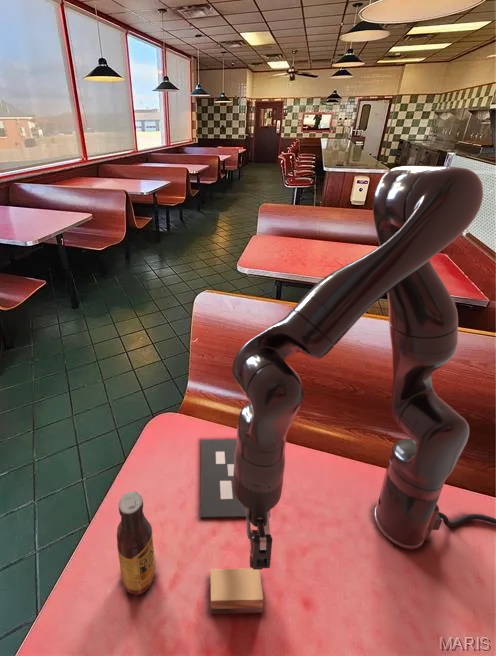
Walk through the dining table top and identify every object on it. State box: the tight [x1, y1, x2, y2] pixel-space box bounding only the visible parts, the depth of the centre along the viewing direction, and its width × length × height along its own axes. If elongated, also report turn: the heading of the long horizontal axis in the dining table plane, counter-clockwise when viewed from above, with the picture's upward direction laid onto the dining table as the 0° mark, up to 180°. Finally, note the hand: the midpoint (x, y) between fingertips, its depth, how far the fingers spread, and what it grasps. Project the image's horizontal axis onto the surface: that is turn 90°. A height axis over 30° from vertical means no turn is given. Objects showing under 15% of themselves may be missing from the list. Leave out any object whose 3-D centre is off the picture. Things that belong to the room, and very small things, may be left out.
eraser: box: [209, 568, 264, 615], centre depth 59 cm, size 9×4×4 cm, turn 91°
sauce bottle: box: [116, 490, 156, 596], centre depth 59 cm, size 6×6×20 cm
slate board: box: [200, 439, 246, 519], centre depth 81 cm, size 13×20×1 cm, turn 1°
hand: (252, 535), depth 56 cm, fingers open, 8 cm apart
